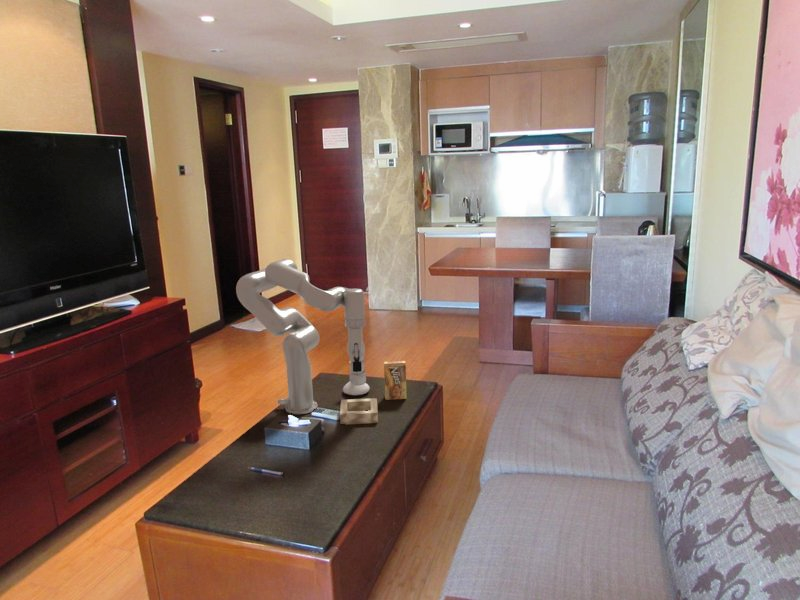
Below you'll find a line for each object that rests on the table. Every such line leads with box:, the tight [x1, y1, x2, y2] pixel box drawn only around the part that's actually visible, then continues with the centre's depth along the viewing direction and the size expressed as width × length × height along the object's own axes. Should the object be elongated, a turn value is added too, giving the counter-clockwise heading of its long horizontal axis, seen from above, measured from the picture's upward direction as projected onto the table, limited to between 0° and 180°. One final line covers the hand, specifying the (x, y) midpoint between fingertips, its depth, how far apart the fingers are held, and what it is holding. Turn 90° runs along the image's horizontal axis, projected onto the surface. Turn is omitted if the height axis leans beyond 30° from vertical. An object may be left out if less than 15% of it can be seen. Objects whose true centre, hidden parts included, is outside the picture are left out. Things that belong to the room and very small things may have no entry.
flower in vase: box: [342, 342, 371, 396], centre depth 237 cm, size 13×11×25 cm
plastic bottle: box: [348, 342, 367, 386], centre depth 212 cm, size 6×7×20 cm
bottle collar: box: [339, 398, 379, 425], centre depth 217 cm, size 14×14×4 cm
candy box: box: [383, 360, 407, 401], centre depth 232 cm, size 9×4×15 cm, turn 93°
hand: (357, 368), depth 213 cm, fingers closed on plastic bottle, 5 cm apart
